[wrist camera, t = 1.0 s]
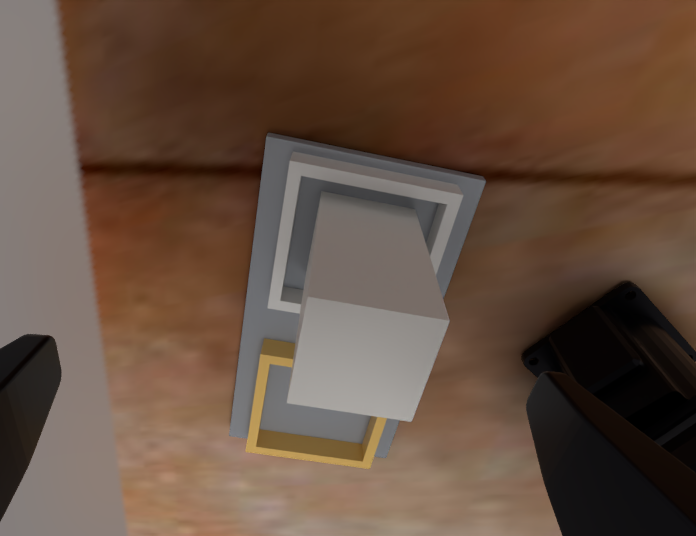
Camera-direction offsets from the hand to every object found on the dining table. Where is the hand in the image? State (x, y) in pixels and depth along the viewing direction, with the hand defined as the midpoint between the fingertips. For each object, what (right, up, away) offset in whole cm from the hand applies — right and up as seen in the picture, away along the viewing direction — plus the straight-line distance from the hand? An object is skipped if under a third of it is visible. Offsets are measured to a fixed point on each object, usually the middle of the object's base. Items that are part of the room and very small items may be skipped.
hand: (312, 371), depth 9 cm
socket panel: (0, -1, +15) cm, 15 cm away
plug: (+1, +3, +12) cm, 13 cm away
